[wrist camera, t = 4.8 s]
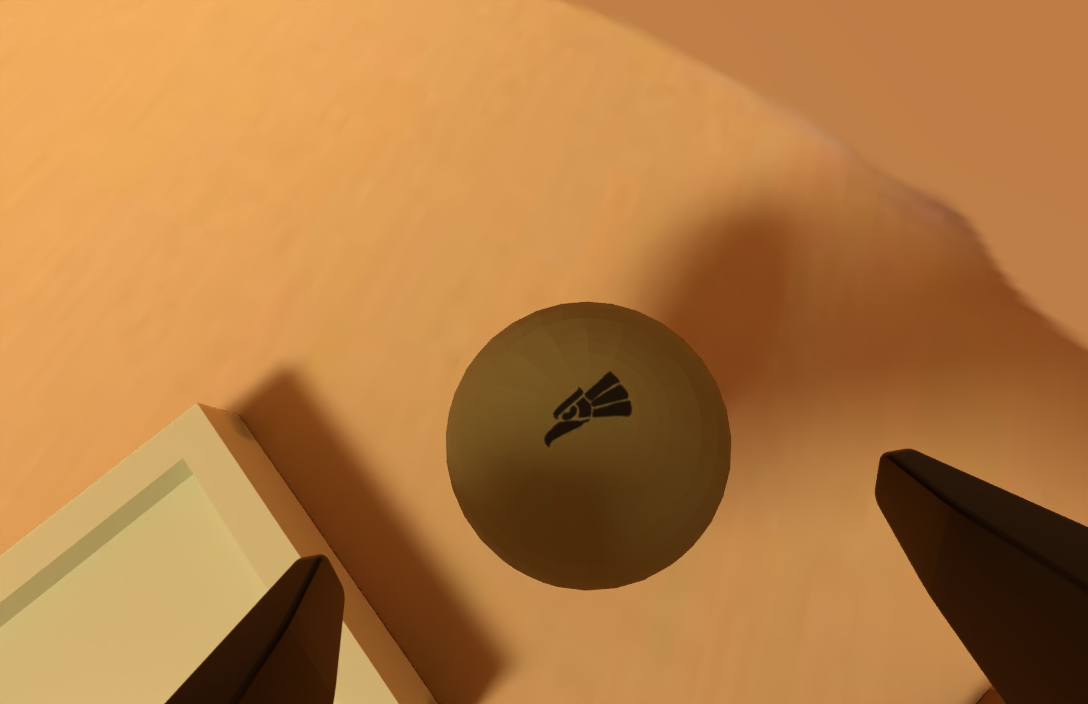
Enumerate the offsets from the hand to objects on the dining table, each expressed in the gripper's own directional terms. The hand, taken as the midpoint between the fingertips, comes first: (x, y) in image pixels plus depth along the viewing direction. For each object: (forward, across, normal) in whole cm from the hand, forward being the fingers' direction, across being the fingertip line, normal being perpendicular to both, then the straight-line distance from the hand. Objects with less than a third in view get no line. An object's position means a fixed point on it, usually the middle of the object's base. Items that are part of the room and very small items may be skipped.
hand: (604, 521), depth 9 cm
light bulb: (+8, 0, +6) cm, 9 cm away
